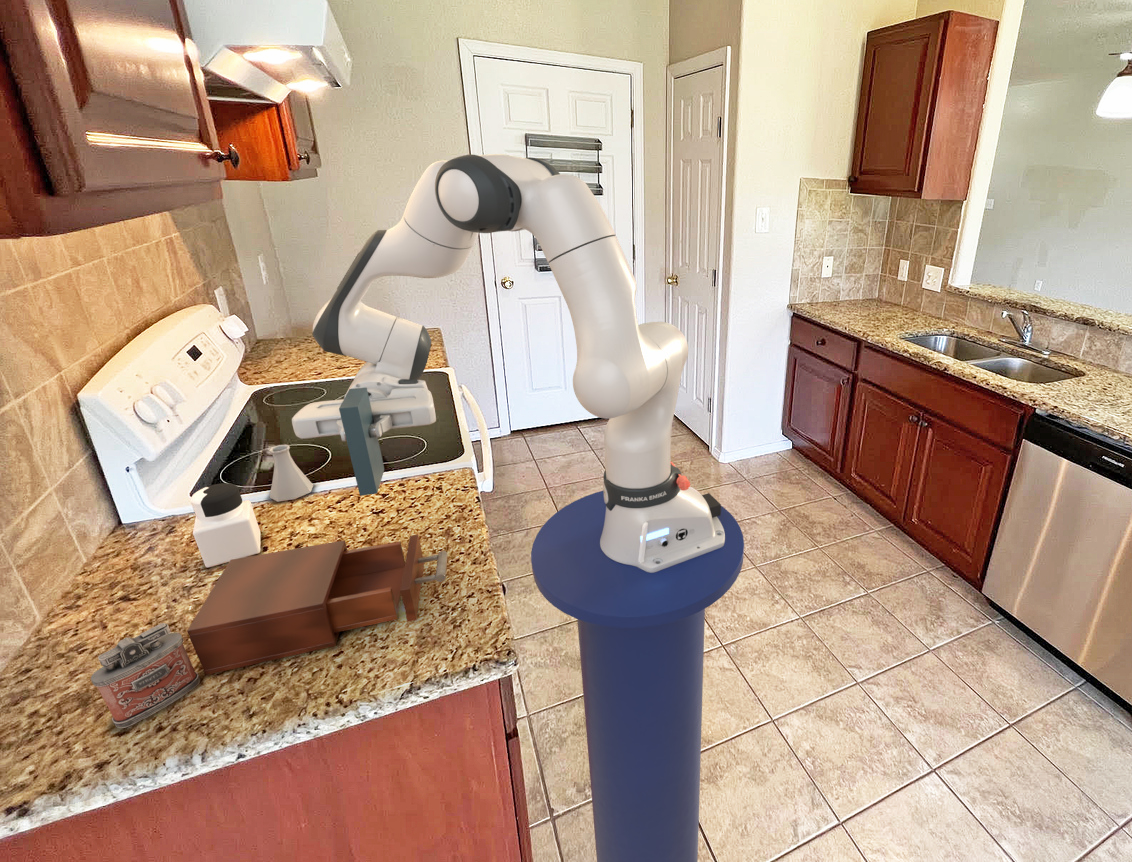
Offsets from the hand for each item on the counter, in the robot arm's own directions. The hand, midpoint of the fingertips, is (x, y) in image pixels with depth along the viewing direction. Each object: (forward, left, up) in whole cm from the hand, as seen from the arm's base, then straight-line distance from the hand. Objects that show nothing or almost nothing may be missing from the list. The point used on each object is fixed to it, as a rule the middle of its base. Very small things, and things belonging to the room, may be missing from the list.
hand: (360, 434), depth 88 cm
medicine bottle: (+25, -10, -23) cm, 35 cm away
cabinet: (+12, +12, -23) cm, 28 cm away
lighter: (+23, +22, -23) cm, 39 cm away
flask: (+21, -28, -23) cm, 42 cm away
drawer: (-1, +12, -22) cm, 25 cm away
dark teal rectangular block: (0, -1, -9) cm, 9 cm away
